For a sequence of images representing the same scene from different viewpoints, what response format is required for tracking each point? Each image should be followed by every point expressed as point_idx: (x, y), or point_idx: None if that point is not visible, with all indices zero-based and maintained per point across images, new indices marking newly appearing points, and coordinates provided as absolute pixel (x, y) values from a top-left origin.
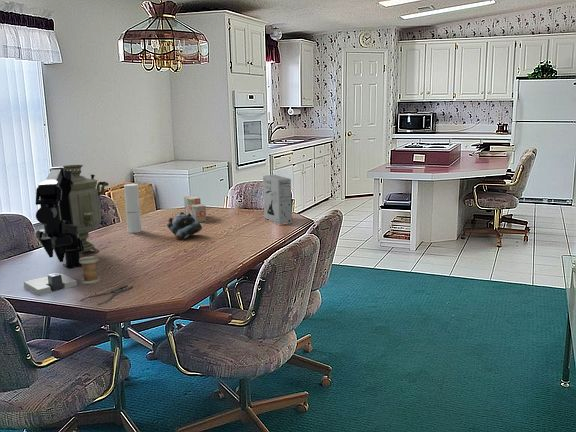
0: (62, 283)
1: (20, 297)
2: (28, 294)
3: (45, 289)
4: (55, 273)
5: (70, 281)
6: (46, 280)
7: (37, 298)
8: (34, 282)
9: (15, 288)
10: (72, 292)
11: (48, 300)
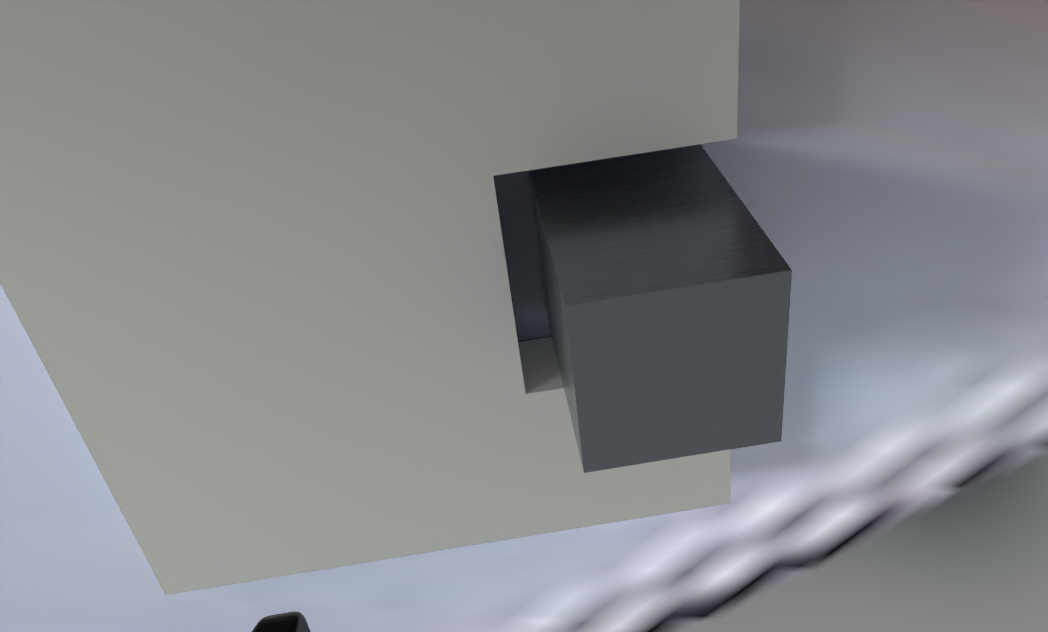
0: (628, 146)
1: (626, 593)
2: None
3: None
4: (606, 346)
5: (701, 7)
6: (306, 348)
7: (822, 473)
8: (311, 497)
9: (199, 607)
10: (1001, 55)
11: (1012, 393)
